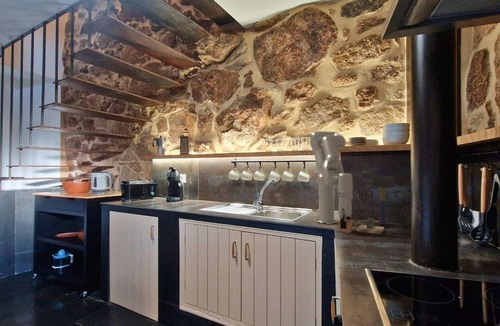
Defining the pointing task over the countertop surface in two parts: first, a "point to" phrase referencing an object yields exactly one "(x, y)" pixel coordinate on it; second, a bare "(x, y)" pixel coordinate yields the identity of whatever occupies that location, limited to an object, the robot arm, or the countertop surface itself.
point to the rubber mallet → (383, 192)
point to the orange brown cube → (348, 226)
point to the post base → (375, 230)
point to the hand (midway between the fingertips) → (345, 226)
